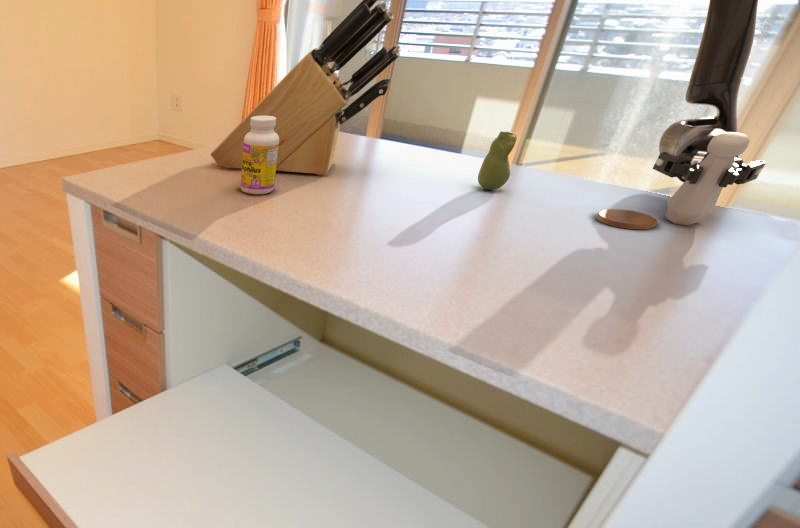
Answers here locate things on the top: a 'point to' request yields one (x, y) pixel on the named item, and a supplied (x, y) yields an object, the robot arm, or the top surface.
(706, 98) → the robot arm
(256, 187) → the supplement bottle
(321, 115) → the knife block
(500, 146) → the pear
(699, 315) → the top surface
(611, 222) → the coaster
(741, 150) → the salt shaker
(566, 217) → the top surface
